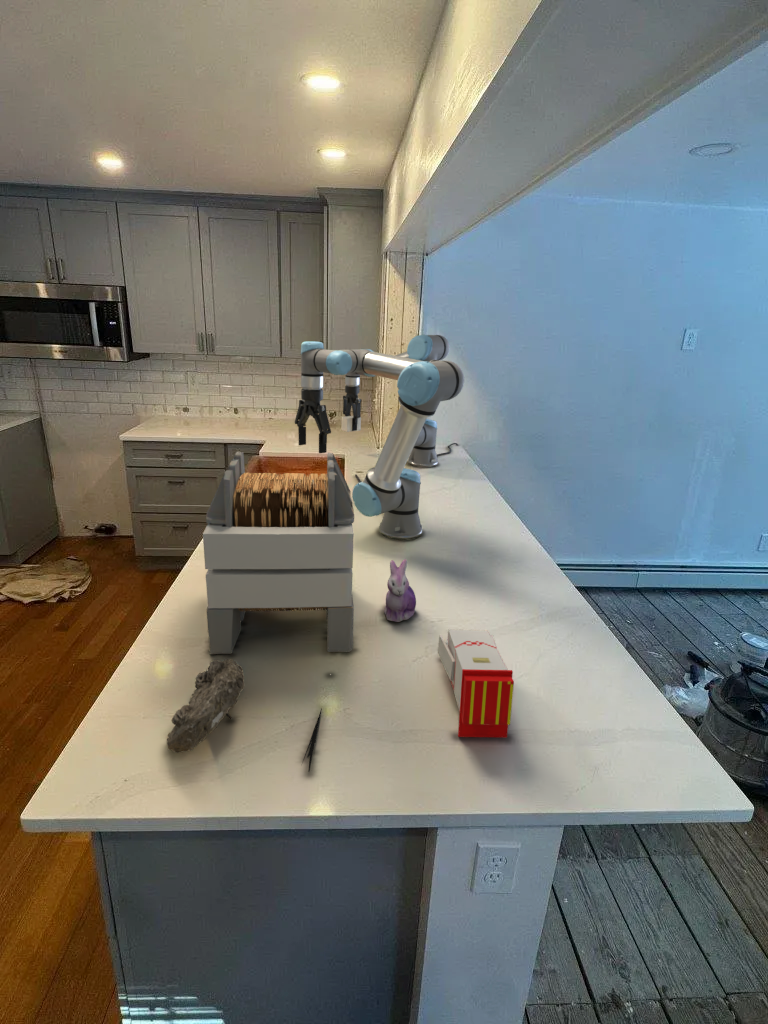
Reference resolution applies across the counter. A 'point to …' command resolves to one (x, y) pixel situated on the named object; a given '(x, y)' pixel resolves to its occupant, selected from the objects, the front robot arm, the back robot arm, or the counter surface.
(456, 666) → the toy
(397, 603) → the figurine
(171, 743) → the grey long lumpy piece
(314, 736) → the feather
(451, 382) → the front robot arm
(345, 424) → the brick
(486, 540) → the counter surface
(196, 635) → the counter surface
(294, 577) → the record crate
